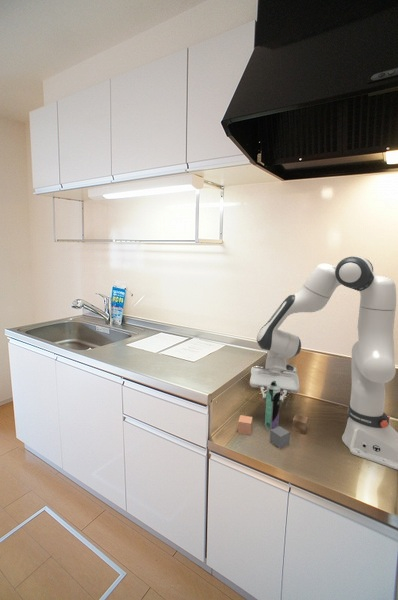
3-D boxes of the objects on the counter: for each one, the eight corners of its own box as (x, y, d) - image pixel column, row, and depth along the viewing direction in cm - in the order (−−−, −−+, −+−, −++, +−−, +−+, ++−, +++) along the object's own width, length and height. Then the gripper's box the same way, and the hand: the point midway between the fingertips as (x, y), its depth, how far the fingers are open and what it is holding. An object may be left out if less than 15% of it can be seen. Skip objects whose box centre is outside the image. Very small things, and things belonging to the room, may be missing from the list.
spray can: (278, 431, 121) (281, 385, 118) (264, 429, 122) (267, 383, 119) (277, 424, 127) (280, 379, 123) (264, 422, 128) (266, 378, 124)
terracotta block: (252, 428, 124) (252, 417, 123) (250, 435, 119) (251, 423, 118) (239, 426, 125) (240, 415, 124) (238, 433, 120) (238, 421, 119)
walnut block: (307, 428, 124) (308, 417, 123) (304, 434, 119) (305, 423, 119) (295, 424, 126) (295, 414, 125) (292, 430, 122) (292, 419, 121)
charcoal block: (289, 444, 113) (289, 432, 113) (280, 449, 111) (280, 436, 110) (278, 437, 117) (279, 425, 117) (269, 442, 115) (270, 430, 114)
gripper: (251, 362, 130) (246, 393, 123) (300, 368, 124) (299, 401, 116) (252, 368, 135) (247, 398, 128) (299, 374, 129) (298, 406, 121)
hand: (272, 399), depth 122 cm, fingers closed on spray can, 5 cm apart
